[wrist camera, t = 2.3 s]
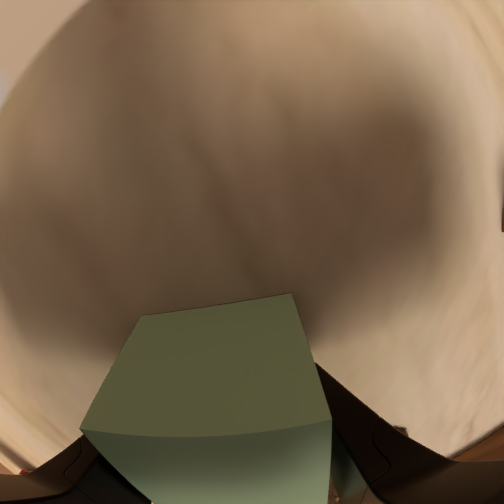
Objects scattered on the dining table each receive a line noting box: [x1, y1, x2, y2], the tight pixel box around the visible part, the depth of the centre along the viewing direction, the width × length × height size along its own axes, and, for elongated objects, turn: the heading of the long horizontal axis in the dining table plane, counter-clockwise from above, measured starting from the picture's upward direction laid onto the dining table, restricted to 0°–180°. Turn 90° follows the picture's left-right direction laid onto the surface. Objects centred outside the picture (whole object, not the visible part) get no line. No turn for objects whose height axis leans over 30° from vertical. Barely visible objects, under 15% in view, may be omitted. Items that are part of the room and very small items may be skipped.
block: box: [79, 293, 332, 504], centre depth 7 cm, size 5×5×5 cm
